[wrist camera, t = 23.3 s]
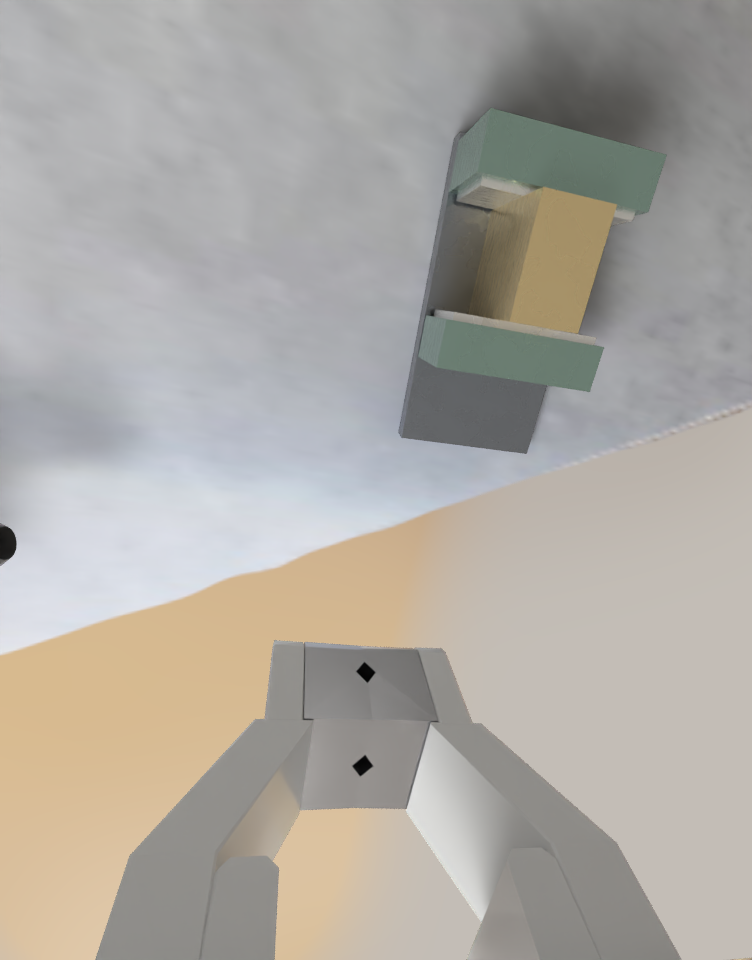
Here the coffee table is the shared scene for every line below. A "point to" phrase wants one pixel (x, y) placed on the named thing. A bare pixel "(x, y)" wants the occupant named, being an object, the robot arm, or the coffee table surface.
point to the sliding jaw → (509, 350)
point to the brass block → (541, 259)
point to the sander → (6, 543)
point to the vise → (458, 248)
